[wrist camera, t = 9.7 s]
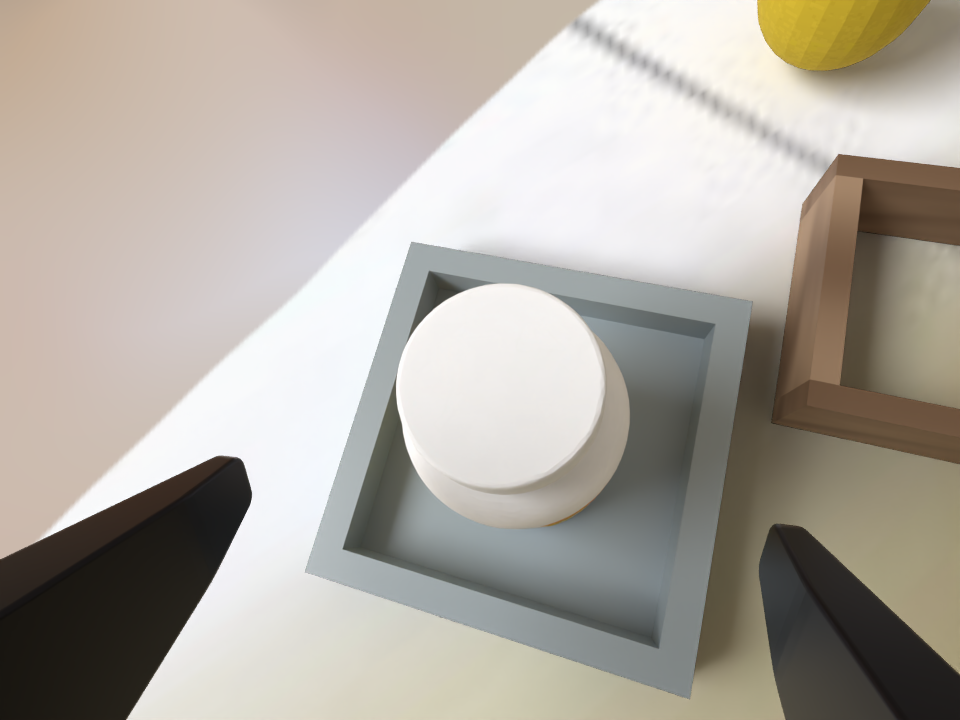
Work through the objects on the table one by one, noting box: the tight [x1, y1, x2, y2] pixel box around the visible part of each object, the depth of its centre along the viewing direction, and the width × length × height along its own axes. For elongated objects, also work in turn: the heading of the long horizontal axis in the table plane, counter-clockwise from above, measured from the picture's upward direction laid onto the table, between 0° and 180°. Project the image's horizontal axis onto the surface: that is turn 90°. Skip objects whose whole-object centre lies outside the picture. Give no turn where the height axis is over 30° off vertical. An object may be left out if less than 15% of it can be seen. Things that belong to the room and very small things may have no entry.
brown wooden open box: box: [772, 154, 960, 464], centre depth 18 cm, size 9×9×3 cm
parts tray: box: [305, 242, 753, 699], centre depth 19 cm, size 12×12×2 cm
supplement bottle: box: [396, 283, 630, 529], centre depth 15 cm, size 5×5×10 cm
